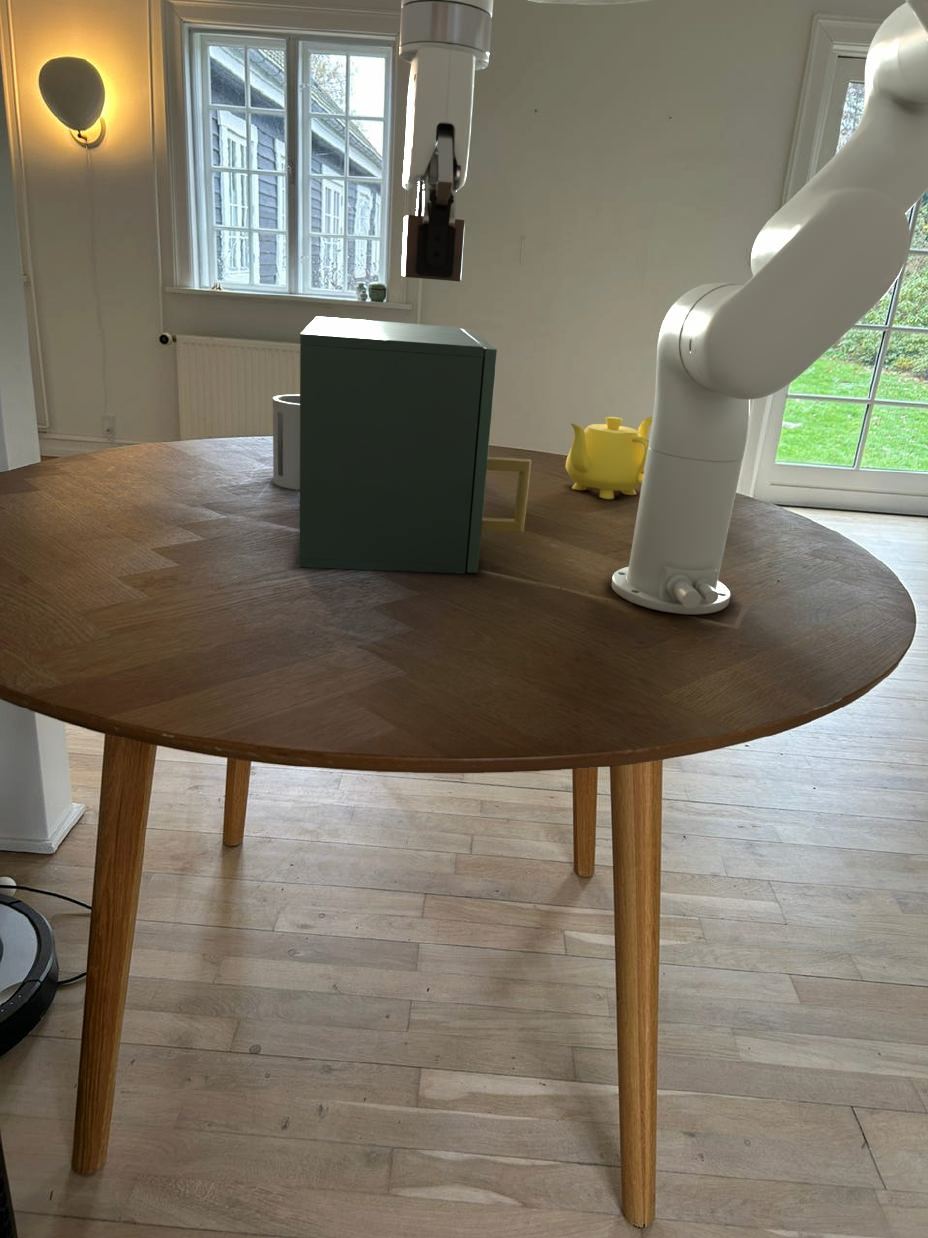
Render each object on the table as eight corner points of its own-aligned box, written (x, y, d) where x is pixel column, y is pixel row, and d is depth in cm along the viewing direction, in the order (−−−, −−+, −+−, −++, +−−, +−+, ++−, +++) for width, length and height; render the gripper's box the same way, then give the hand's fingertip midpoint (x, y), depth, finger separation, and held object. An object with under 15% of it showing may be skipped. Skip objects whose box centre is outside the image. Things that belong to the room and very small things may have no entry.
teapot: (604, 511, 123) (616, 431, 119) (530, 487, 133) (539, 413, 129) (684, 496, 136) (697, 423, 132) (611, 475, 146) (621, 407, 142)
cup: (345, 480, 128) (347, 399, 124) (321, 493, 120) (322, 407, 116) (290, 472, 130) (290, 392, 126) (262, 485, 122) (261, 399, 117)
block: (460, 281, 76) (465, 219, 74) (404, 276, 75) (407, 214, 73) (454, 279, 81) (458, 221, 79) (401, 275, 80) (404, 216, 78)
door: (493, 510, 118) (509, 332, 109) (523, 574, 95) (547, 353, 85) (448, 508, 118) (461, 328, 108) (466, 572, 94) (485, 348, 85)
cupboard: (446, 509, 118) (459, 327, 108) (465, 573, 94) (484, 346, 85) (314, 503, 115) (316, 316, 106) (299, 567, 92) (300, 333, 82)
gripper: (394, 56, 78) (385, 270, 85) (407, 7, 63) (395, 274, 70) (475, 66, 79) (460, 276, 86) (507, 20, 64) (485, 281, 71)
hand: (431, 273), depth 78 cm, fingers closed on block, 5 cm apart
